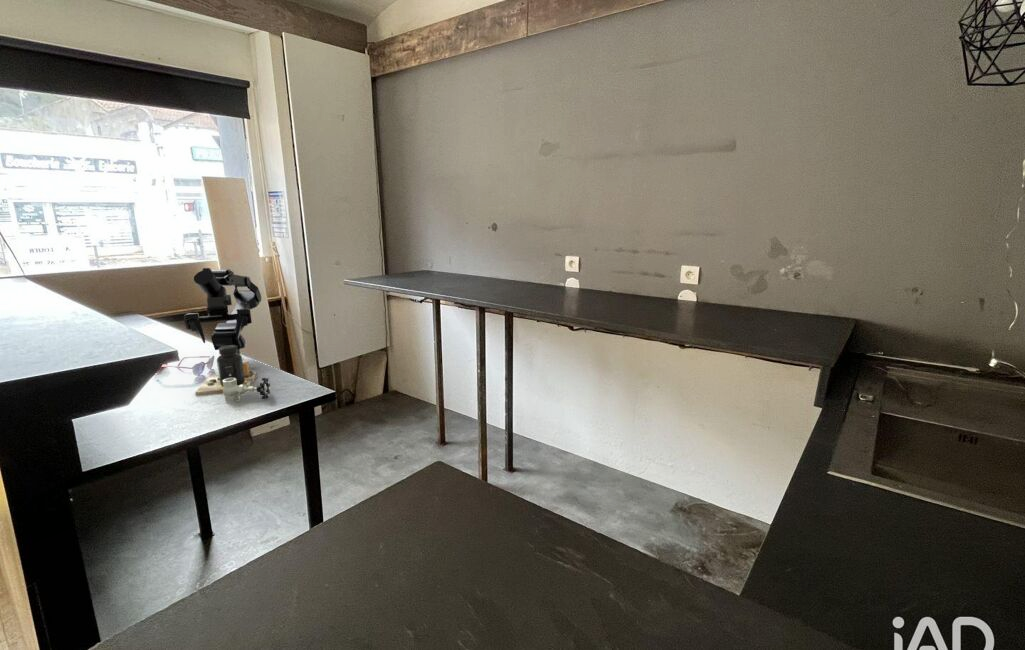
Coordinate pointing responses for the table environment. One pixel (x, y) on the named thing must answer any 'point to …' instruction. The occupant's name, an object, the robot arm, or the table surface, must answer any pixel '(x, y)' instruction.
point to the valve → (243, 389)
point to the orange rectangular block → (246, 367)
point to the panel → (215, 387)
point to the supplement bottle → (230, 364)
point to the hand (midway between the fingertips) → (221, 340)
